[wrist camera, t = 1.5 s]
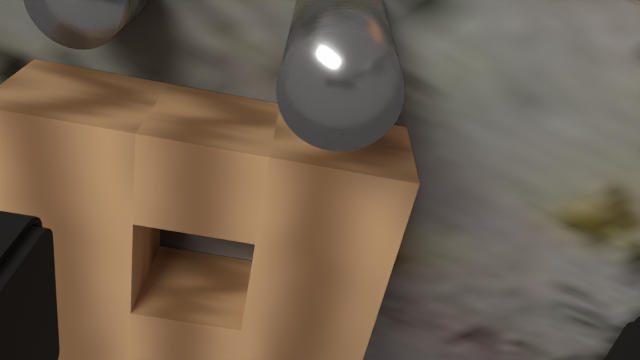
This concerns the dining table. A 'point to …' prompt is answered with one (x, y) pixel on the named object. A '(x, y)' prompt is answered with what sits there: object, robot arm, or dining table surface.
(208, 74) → the dining table surface
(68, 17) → the short pin
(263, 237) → the hole block
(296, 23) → the tall pin
